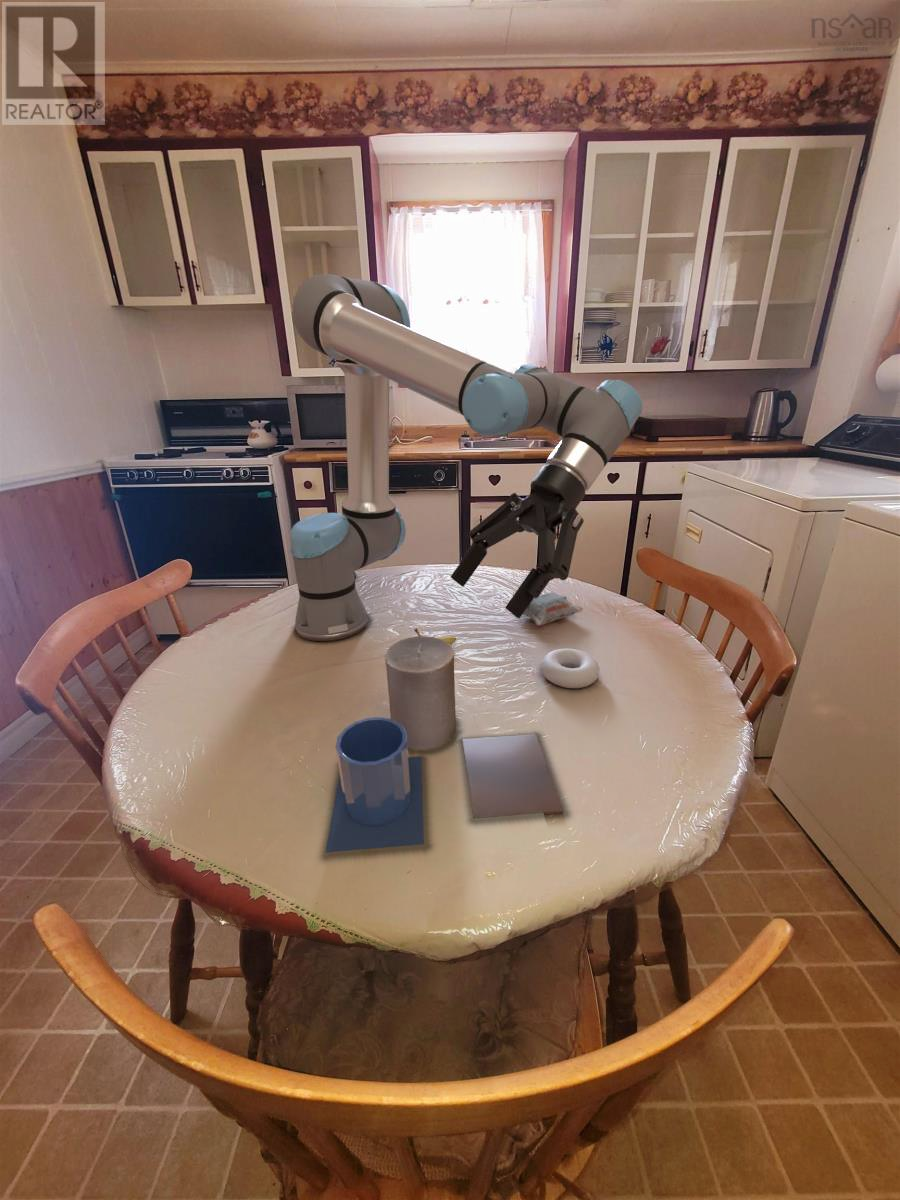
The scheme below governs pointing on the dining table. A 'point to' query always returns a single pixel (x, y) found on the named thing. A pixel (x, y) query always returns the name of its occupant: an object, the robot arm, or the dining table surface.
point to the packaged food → (550, 608)
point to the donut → (574, 677)
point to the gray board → (509, 777)
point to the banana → (447, 639)
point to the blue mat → (393, 834)
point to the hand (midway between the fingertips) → (482, 596)
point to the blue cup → (374, 770)
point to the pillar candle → (422, 690)
